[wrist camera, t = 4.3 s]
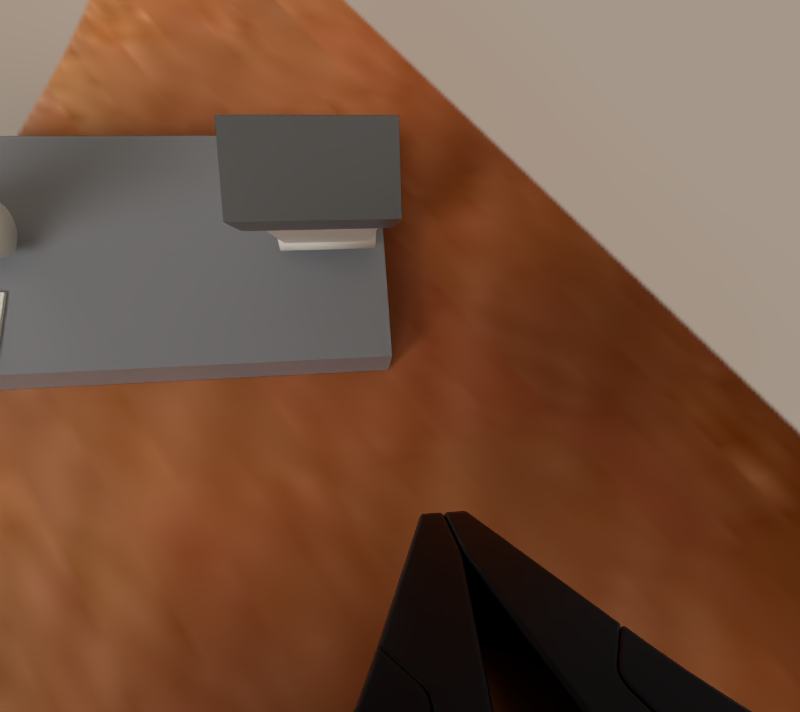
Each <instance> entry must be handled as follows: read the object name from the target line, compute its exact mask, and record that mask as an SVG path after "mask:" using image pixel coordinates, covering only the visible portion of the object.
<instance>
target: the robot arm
mask: <svg viewBox="0 0 800 712" xmlns="http://www.w3.org/2000/svg"><path fill="white" fill-rule="evenodd" d="M353 712H751V711H750V710H748V709H747V708H745V707H743V706H742V705H740V704H739V703H737V702H735V701H734V700H732V699H731V698H729V697H728V696H726V695H724V694H723V693H721V692H720V691H718V690H717V689H715V688H714V687H712V686H711V685H709V684H707V683H706V682H704V681H703V680H701V679H700V678H698V677H697V676H695V675H694V674H692V673H690V672H689V671H687V670H686V669H684V668H683V667H681V666H680V665H679V664H677V663H676V662H674V661H673V660H671V659H670V658H669V657H667V656H666V655H664V654H663V653H661V652H660V651H659V650H657V649H656V648H654V647H653V646H651V645H650V644H649V643H647V642H646V641H644V640H643V639H642V638H640V637H639V636H637V635H636V634H635V633H633V632H632V631H631V630H629V629H628V628H626V627H625V626H623V627H621V629H620V624H619V623H618V622H617V621H616V620H614V619H613V618H611V617H610V616H609V615H607V614H606V613H605V612H603V611H602V610H600V609H599V608H598V607H596V606H595V605H594V604H592V603H591V602H590V601H588V600H587V599H585V598H584V597H583V596H581V595H580V594H579V593H577V592H576V591H574V590H573V589H572V588H570V587H569V586H568V585H566V584H565V583H564V582H562V581H561V580H559V579H558V578H557V577H555V576H554V575H553V574H551V573H550V572H548V571H547V570H546V569H544V568H543V567H542V566H540V565H539V564H538V563H536V562H535V561H533V560H532V559H531V558H529V557H528V556H527V555H525V554H524V553H522V552H521V551H520V550H518V549H517V548H516V547H514V546H513V545H512V544H510V543H509V542H507V541H506V540H505V539H503V538H502V537H501V536H499V535H498V534H496V533H495V532H494V531H492V530H491V529H490V528H488V527H487V526H486V525H484V524H483V523H481V522H480V521H479V520H477V519H476V518H475V517H473V516H472V515H470V514H469V513H467V512H465V511H458V512H447V513H445V514H444V515H443V514H442V513H429V514H422V515H421V516H420V518H419V521H418V524H417V527H416V530H415V533H414V536H413V539H412V542H411V546H410V549H409V552H408V555H407V558H406V561H405V564H404V567H403V570H402V573H401V576H400V579H399V582H398V585H397V588H396V591H395V594H394V597H393V600H392V604H391V607H390V610H389V613H388V616H387V619H386V622H385V625H384V628H383V631H382V634H381V637H380V640H379V643H378V646H377V650H376V651H375V654H374V657H373V660H372V663H371V666H370V669H369V672H368V675H367V677H366V680H365V683H364V685H363V688H362V691H361V693H360V696H359V699H358V701H357V704H356V706H355V709H354V711H353Z"/></svg>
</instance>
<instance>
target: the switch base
mask: <svg viewBox="0 0 800 712" xmlns="http://www.w3.org/2000/svg"><path fill="white" fill-rule="evenodd" d="M0 203H1V204H3V205H4V206H5V207H6V208H7V209H8V211H9V212H10V214H11V216H12V217H13V220H14V222H15V225H16V229H17V238H18V239H17V246H16V249H15V251H14V253H13V254H12V255H11V256H9V257H7V258H0V390H11V389H30V388H49V387H69V386H88V385H108V384H127V383H146V382H166V381H185V380H205V379H224V378H243V377H263V376H282V375H302V374H321V373H340V372H360V371H379V370H388V369H389V366H390V362H391V358H392V347H391V334H390V320H389V306H388V293H387V279H386V265H385V252H384V238H383V228H378V229H377V230H376V245H375V248H370V249H331V250H292V251H281V250H280V247H279V243H278V239H277V238H276V237H274V236H273V235H271V234H270V233H268V232H266V231H240V230H238V229H236V228H234V227H232V226H230V225H228V224H226V223H224V222H223V212H222V200H221V188H220V176H219V164H218V153H217V141H216V136H0Z"/></svg>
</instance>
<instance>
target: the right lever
mask: <svg viewBox="0 0 800 712" xmlns="http://www.w3.org/2000/svg"><path fill="white" fill-rule="evenodd" d="M214 117H215V129H216V141H217V153H218V164H219V176H220V188H221V200H222V212H223V222H224V223H226V224H228V225H230V226H232V227H234V228H236V229H238V230H240V231H266V232H268V233H270V234H271V235H273V236H274V237H276V238H277V239H278V243H279V247H280V250H281V251H292V250H331V249H370V248H375V245H376V230H377V229H378V228H394V227H395V226H396V225H397V224H398V222H399V221H400V220H401V219H402V206H401V173H400V140H399V115H214Z"/></svg>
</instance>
